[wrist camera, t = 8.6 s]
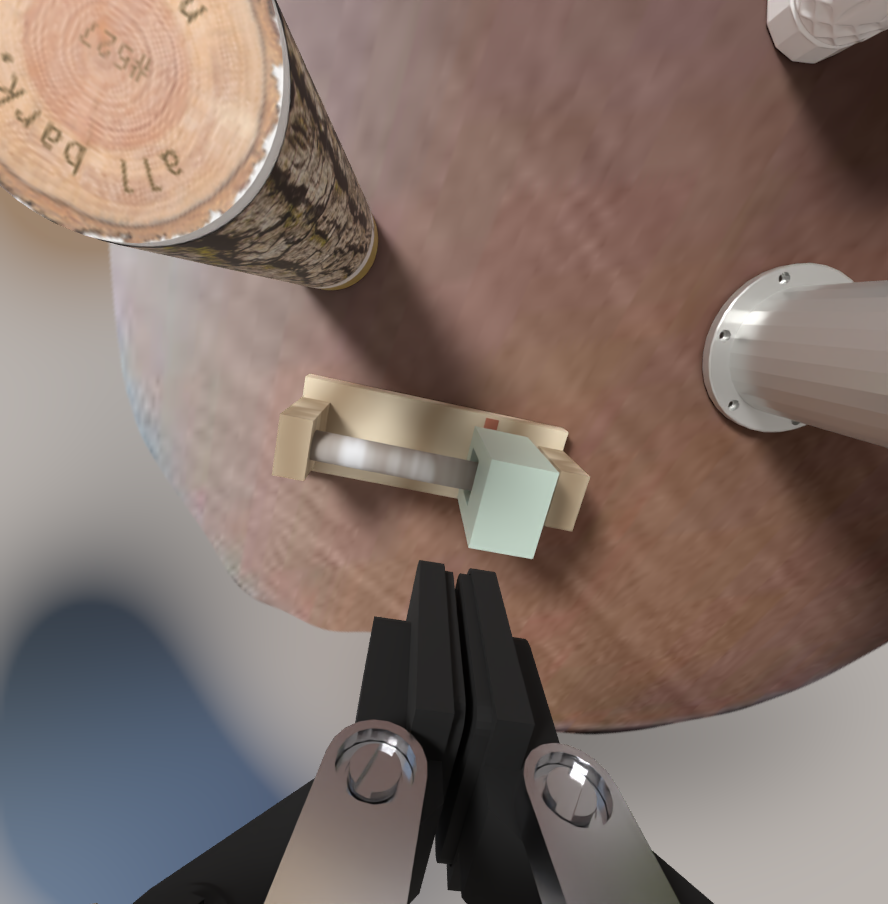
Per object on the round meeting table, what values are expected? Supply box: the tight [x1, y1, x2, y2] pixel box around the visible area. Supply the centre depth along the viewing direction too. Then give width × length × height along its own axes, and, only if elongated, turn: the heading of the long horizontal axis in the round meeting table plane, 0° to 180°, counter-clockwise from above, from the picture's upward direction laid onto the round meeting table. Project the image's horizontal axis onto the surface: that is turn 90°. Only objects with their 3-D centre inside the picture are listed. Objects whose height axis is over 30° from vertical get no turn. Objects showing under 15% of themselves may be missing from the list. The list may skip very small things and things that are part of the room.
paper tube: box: [0, 0, 378, 290], centre depth 21 cm, size 7×7×25 cm
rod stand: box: [272, 374, 590, 531], centre depth 34 cm, size 20×7×8 cm, turn 77°
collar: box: [457, 426, 559, 559], centre depth 31 cm, size 4×6×8 cm
